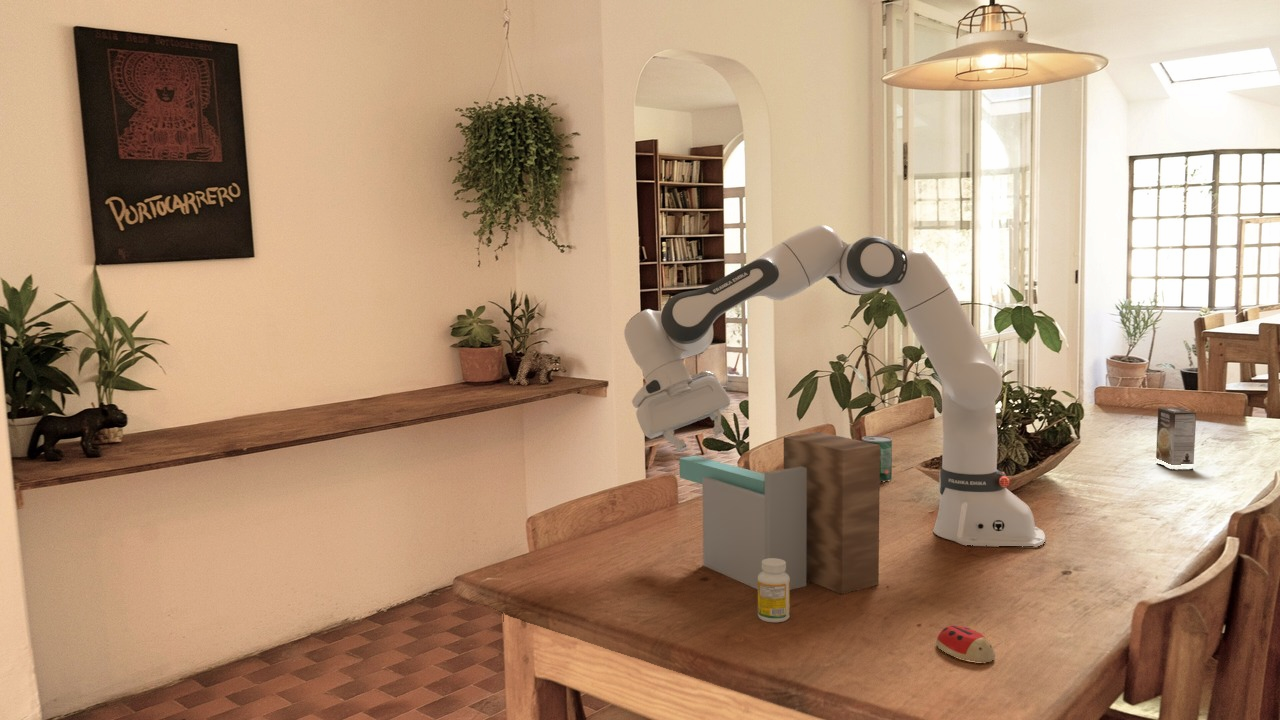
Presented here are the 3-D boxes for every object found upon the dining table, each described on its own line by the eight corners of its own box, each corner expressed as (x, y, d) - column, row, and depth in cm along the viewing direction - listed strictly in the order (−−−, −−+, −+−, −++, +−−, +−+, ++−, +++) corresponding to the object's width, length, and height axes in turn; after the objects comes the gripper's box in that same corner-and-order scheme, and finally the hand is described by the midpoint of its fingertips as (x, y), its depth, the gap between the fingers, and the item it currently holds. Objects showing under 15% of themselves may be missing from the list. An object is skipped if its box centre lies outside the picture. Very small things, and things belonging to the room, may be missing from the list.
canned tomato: (895, 477, 267) (896, 437, 265) (886, 483, 260) (886, 442, 259) (867, 474, 271) (867, 434, 270) (857, 480, 264) (857, 439, 263)
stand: (783, 570, 190) (783, 437, 187) (819, 562, 195) (819, 432, 192) (842, 594, 176) (842, 450, 174) (878, 584, 181) (879, 444, 178)
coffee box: (1154, 463, 279) (1156, 407, 277) (1177, 463, 279) (1179, 406, 277) (1171, 470, 270) (1173, 412, 268) (1195, 470, 269) (1197, 412, 268)
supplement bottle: (778, 625, 162) (778, 568, 161) (751, 618, 166) (751, 562, 165) (796, 616, 166) (796, 560, 165) (768, 609, 170) (768, 554, 169)
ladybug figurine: (976, 670, 144) (976, 647, 144) (923, 648, 153) (924, 626, 152) (1006, 660, 148) (1006, 637, 147) (953, 639, 156) (953, 617, 156)
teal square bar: (679, 477, 202) (679, 458, 201) (695, 474, 204) (695, 455, 203) (763, 502, 180) (763, 481, 180) (780, 499, 182) (780, 478, 182)
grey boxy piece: (703, 565, 194) (702, 454, 192) (737, 557, 198) (737, 449, 196) (770, 594, 177) (769, 473, 174) (806, 586, 181) (806, 467, 179)
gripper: (705, 374, 212) (735, 431, 208) (624, 404, 203) (655, 463, 199) (716, 361, 207) (748, 419, 203) (634, 391, 197) (665, 452, 193)
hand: (701, 441), depth 201 cm, fingers open, 8 cm apart
